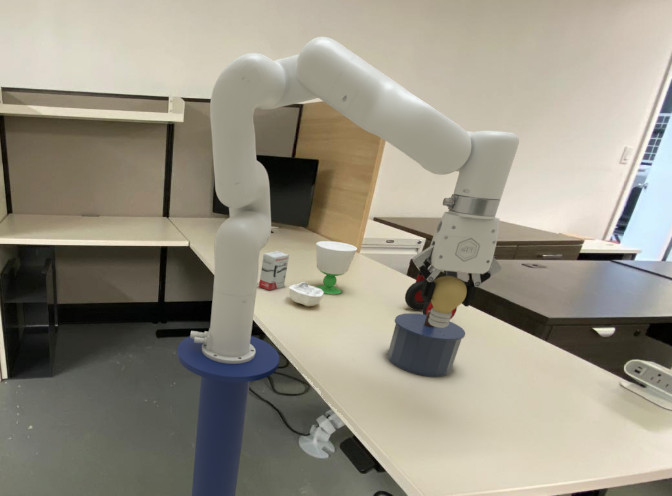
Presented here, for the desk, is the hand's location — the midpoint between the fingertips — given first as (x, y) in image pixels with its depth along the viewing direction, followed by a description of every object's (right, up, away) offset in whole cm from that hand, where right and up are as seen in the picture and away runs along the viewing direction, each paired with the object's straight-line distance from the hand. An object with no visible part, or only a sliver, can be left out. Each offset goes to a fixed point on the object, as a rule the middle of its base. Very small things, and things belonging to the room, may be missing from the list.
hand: (444, 301), depth 90 cm
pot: (+6, -13, +25) cm, 29 cm away
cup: (-3, +10, +74) cm, 75 cm away
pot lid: (+7, -4, +21) cm, 23 cm away
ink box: (-24, +11, +73) cm, 77 cm away
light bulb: (0, -5, +2) cm, 5 cm away
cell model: (-15, +4, +59) cm, 61 cm away
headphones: (+23, 0, +56) cm, 61 cm away
